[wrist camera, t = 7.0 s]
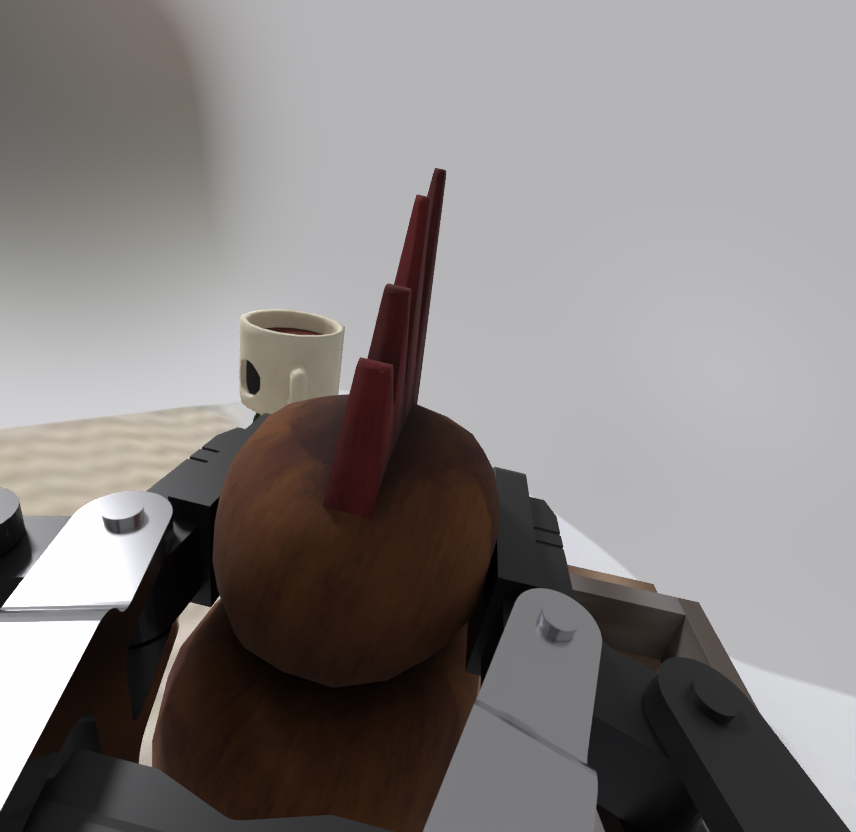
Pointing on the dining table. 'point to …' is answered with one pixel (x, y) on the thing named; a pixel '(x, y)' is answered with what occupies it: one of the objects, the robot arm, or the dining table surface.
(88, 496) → the dining table surface
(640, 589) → the socket stand
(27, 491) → the dining table surface
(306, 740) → the wooden figurine
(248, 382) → the character mug
